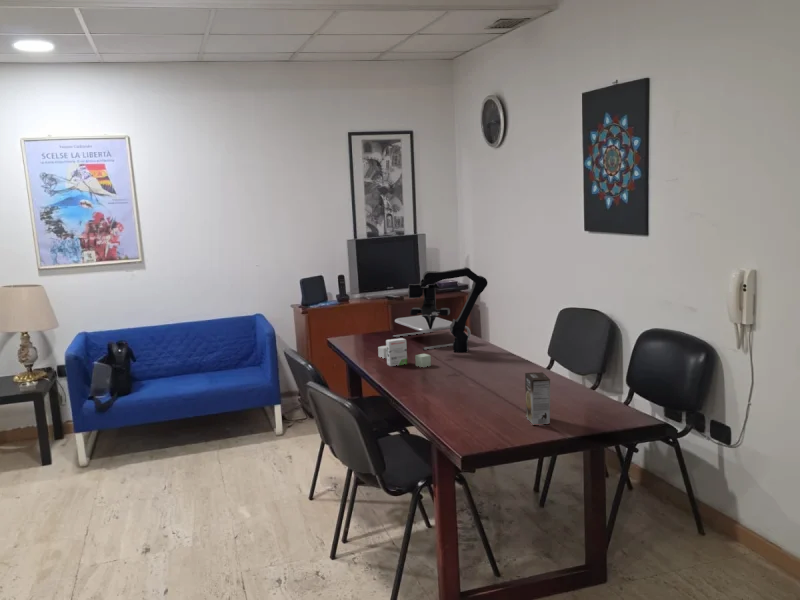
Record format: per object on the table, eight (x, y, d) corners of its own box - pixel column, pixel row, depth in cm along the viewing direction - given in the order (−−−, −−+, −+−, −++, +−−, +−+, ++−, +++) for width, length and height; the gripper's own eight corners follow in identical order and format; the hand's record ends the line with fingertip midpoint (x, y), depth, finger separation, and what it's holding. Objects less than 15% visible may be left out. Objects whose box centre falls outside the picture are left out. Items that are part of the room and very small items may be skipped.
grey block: (387, 355, 342) (386, 345, 341) (392, 357, 338) (392, 347, 337) (378, 356, 339) (378, 346, 338) (384, 358, 335) (383, 348, 334)
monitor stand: (392, 338, 382) (391, 318, 380) (436, 331, 394) (436, 313, 392) (423, 351, 349) (422, 329, 347) (471, 343, 361) (471, 323, 359)
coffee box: (524, 417, 243) (524, 372, 241) (543, 416, 244) (542, 371, 241) (532, 426, 234) (531, 379, 232) (550, 425, 235) (550, 378, 232)
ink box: (403, 362, 327) (402, 337, 325) (407, 364, 323) (406, 339, 321) (386, 364, 324) (385, 339, 322) (390, 366, 320) (389, 341, 318)
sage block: (424, 364, 322) (424, 353, 322) (430, 366, 318) (430, 355, 317) (415, 365, 320) (415, 355, 319) (422, 367, 316) (421, 357, 315)
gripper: (406, 299, 334) (407, 331, 336) (445, 300, 329) (445, 332, 331) (412, 296, 344) (413, 327, 347) (449, 296, 339) (450, 328, 342)
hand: (430, 328), depth 341 cm, fingers closed
